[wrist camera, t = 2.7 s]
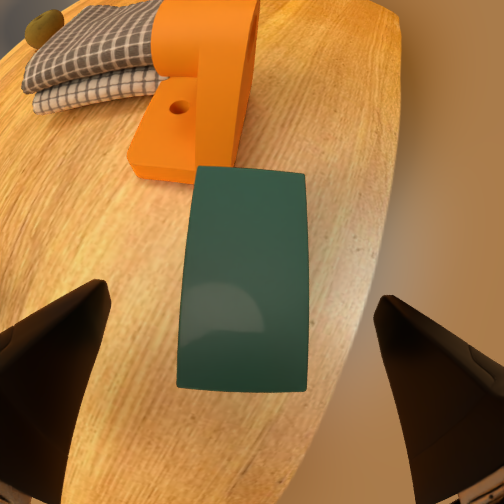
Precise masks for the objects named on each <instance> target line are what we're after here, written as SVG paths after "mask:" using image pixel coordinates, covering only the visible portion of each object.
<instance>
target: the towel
mask: <svg viewBox="0 0 504 504" xmlns="http://www.w3.org/2000/svg"><path fill="white" fill-rule="evenodd" d="M163 1H164V0H149V1H146V2H139V3H136V4H131V5H129V6H122V7H115V6H109V5H104V6H102V5H97V6H91V5H90V6H87V7H85V8H84V9H83V10H82V11H81V12H80V13H79V14H78V15H77V16H75V17H74V18H73V19H72V20H71V21H70V22H69V23H67V24H66V25H65V26H64V27H62V28H61V29H60V30H59V31H58V32H56V33H55V34H54V35H53V36H52V37H51V38H50V39H49V40H48V41H47V42H46V43H45V44H44V45H43V46H42V47H41V48H40V49H39V50H38V51H37V52H36V53H35V54H34V55H33V56H32V58H31V59H30V61H29V62H28V63H27V65H26V67H25V73H24V80H23V81H22V86H21V89H22V90H23V93H25V94H33V93H35V92H37V93H36V94H35V97H34V99H33V103H32V105H33V110H34V113H35V114H37V115H45V114H52V113H55V112H61V111H64V110H70V109H73V108H77V107H81V106H85V105H90V104H93V103H99V102H105V101H110V100H114V99H121V98H126V97H133V96H144V95H154V94H155V92H156V90H157V88H158V86H159V84H160V83H161V81H164V80H167V79H169V78H170V77H162V76H160V75H159V74H158V73H157V72H156V70H155V68H154V65H153V61H152V55H151V33H152V27H153V22H154V19H155V16H156V13H157V11H158V9H159V7H160V5H161V3H162V2H163Z"/></svg>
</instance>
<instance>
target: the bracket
mask: <svg viewBox="0 0 504 504" xmlns="http://www.w3.org/2000/svg"><path fill="white" fill-rule="evenodd" d="M259 11H260V0H164V1H163V2H162V3H161V5H160V7H159V9H158V11H157V13H156V16H155V19H154V22H153V27H152V33H151V55H152V61H153V65H154V68H155V70H156V72H157V73H158V74H159V75H160V76H162V77H170V78H169V79H167V80H164V81H161V83H160V84H159V86H158V88H157V90H156V92H155V94H154V96H153V98H152V100H151V101H150V103H149V105H148V107H147V109H146V112H145V114H144V116H143V118H142V120H141V122H140V124H139V126H138V129H137V131H136V133H135V135H134V138H133V140H132V142H131V145H130V147H129V149H128V152H127V159H128V161H129V163H130V165H131V167H132V169H133V171H134V172H135V174H136V175H137V176H138V177H139V178H143V179H153V180H162V181H171V182H179V183H187V184H194V183H195V177H196V170H197V167H198V166H219V167H234V164H235V161H236V156H237V151H238V147H239V142H240V137H241V133H242V128H243V124H244V119H245V115H246V109H247V103H248V99H249V94H250V90H251V85H252V78H253V71H254V60H255V50H256V40H257V30H258V20H259Z"/></svg>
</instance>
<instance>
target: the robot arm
mask: <svg viewBox="0 0 504 504" xmlns="http://www.w3.org/2000/svg"><path fill="white" fill-rule="evenodd" d="M110 309H111V299H110V295H109V290H108V286H107V283H106V281H104V280H99V279H93V280H91V281H89V282H88V283H86V284H84V285H82V286H80V287H78V288H77V289H75V290H73V291H71V292H69V293H68V294H66V295H64V296H62V297H61V298H59V299H57V300H55V301H54V302H52V303H50V304H48V305H47V306H45V307H43V308H41V309H40V310H38V311H36V312H35V313H33V314H31V315H30V316H28V317H26V318H25V319H23V320H21V321H20V322H18V323H16V324H15V325H14V326H11V327H10V328H8V329H7V330H5V331H3V332H2V333H0V504H31V499H32V497H33V498H35V499H38V500H40V501H42V502H44V503H47V504H61V496H62V489H63V483H64V476H65V471H66V465H67V460H68V455H69V450H70V445H71V441H72V437H73V433H74V429H75V425H76V421H77V417H78V414H79V410H80V406H81V403H82V400H83V396H84V393H85V390H86V387H87V383H88V380H89V377H90V374H91V371H92V368H93V366H94V363H95V360H96V357H97V354H98V351H99V349H100V346H101V342H102V338H103V334H104V331H105V327H106V323H107V320H108V316H109V312H110ZM373 320H374V325H375V328H376V333H377V338H378V342H379V347H380V351H381V356H382V359H383V363H384V366H385V369H386V372H387V376H388V379H389V382H390V386H391V389H392V392H393V396H394V400H395V404H396V407H397V411H398V415H399V419H400V423H401V426H402V431H403V435H404V440H405V444H406V448H407V454H408V458H409V464H410V469H411V475H412V480H413V487H414V494H415V501H416V504H436V503H438V502H440V501H443V500H445V499H447V498H449V497H451V496H453V495H455V494H457V493H458V497H459V499H457V500H455V501H454V502H452V503H451V504H504V367H503V366H501V365H500V364H498V363H497V362H495V361H493V360H492V359H490V358H489V357H487V356H485V355H484V354H483V353H481V352H480V351H478V350H476V349H475V348H474V347H472V346H471V345H468V344H467V343H466V342H465V341H463V340H462V339H460V338H459V337H457V336H456V335H454V334H453V333H451V332H450V331H448V330H447V329H445V328H444V327H442V326H441V325H439V324H438V323H436V322H435V321H433V320H432V319H430V318H428V317H427V316H425V315H424V314H422V313H420V312H419V311H418V310H416V309H414V308H413V307H411V306H410V305H408V304H407V303H405V302H403V301H402V300H400V299H399V298H397V297H395V296H394V295H383V296H382V297H381V298H380V301H379V303H378V306H377V308H376V310H375V313H374V317H373Z"/></svg>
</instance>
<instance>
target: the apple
mask: <svg viewBox="0 0 504 504" xmlns="http://www.w3.org/2000/svg"><path fill="white" fill-rule="evenodd" d="M62 27H64V17H63V15H62V13H61V12H60V11H58V10H49V11H47V12H45V13H43V14H41V15H39V16H38V17H36V18H35V19H34V20H33V21H31V22H30V23H29V25H28V26H27V28H26V31H25V39H26V41H27V43H28V44H29V45H30V46H31V47H33V48H36V49H40V48H41V47H42V46H43V45H44V44H45V43H46V42H47V41H48V40H49V39H50V38H51V37H52V36H53V35H54V34H55V33H56V32H58V31H59V30H60V29H61V28H62Z"/></svg>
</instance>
